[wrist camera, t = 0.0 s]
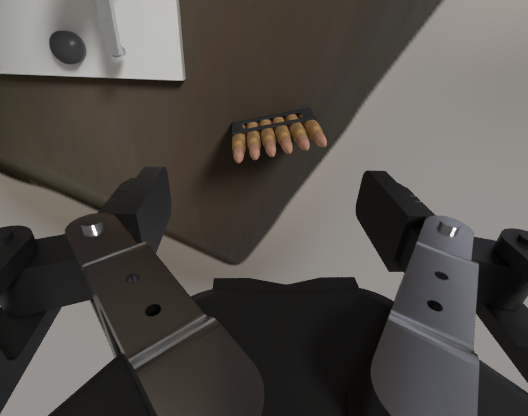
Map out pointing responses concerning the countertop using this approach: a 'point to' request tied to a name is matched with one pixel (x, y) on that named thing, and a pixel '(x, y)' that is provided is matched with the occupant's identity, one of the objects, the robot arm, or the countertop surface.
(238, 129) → the ammunition clip
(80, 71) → the hole plate
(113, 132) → the countertop surface
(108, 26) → the block
